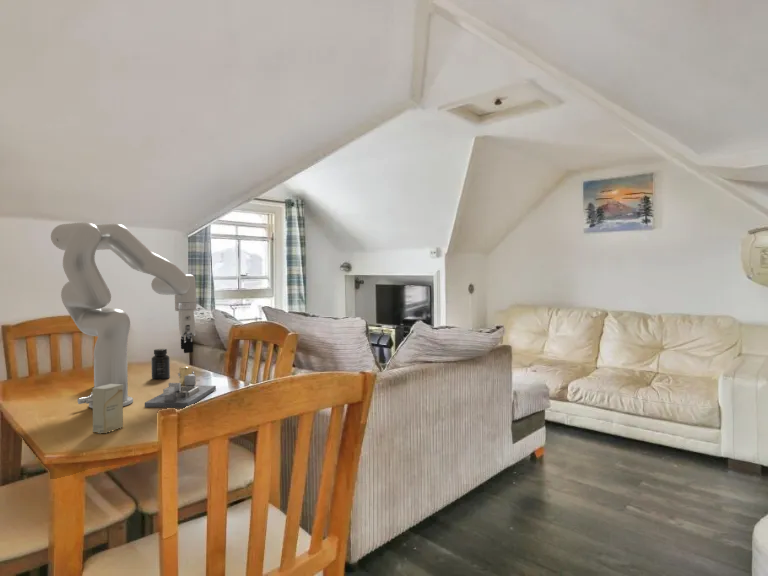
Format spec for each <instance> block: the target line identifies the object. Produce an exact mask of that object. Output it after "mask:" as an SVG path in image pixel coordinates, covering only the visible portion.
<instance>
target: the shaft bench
mask: <svg viewBox="0 0 768 576" xmlns="http://www.w3.org/2000/svg"><path fill="white" fill-rule="evenodd" d="M196 379H197V378H196V374H189V375H188V376H185V385H186V386H184V385H181V383H180V382H169V383H168V386H167V387H166V388H163V389H162V390H163V393H161V394H159V395H157V396H154V397H153V398H151V399H149V400H147V401H145V402H144V408H174V407H175V409H176V408H179V409H180V408H184V407H186V406H189V405H191V404H193V403H194V404H196V403H197V402H199V401H201V400H202V399H204V398H206V397H207V396H208V395H210V394H212V393H213V392H215V391H216V390H217V388H216V387H217V385H196V383H197V382H196ZM214 390H215V391H214ZM211 392H212V393H211ZM194 404H193V405H194ZM191 406H192V405H191Z"/></svg>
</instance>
